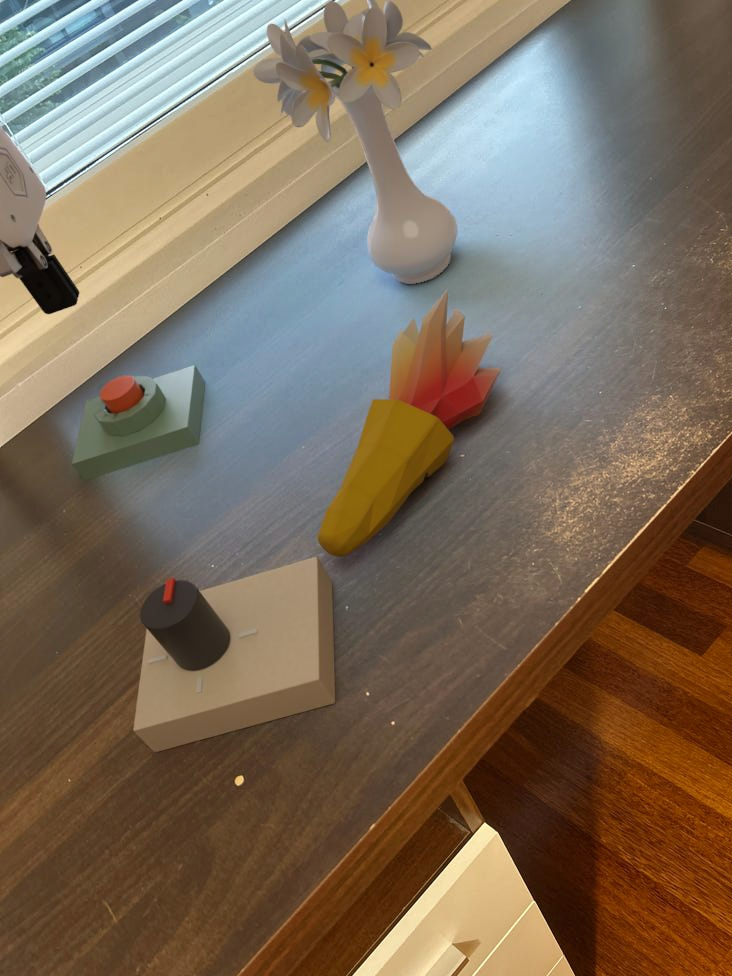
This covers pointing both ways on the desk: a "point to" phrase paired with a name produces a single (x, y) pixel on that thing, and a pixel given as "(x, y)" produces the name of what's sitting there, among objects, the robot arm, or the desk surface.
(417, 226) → the flower vase
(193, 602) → the knob
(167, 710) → the panel
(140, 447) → the button box
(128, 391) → the button
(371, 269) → the desk surface
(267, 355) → the desk surface
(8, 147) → the robot arm
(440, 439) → the torch
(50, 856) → the desk surface
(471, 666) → the desk surface
